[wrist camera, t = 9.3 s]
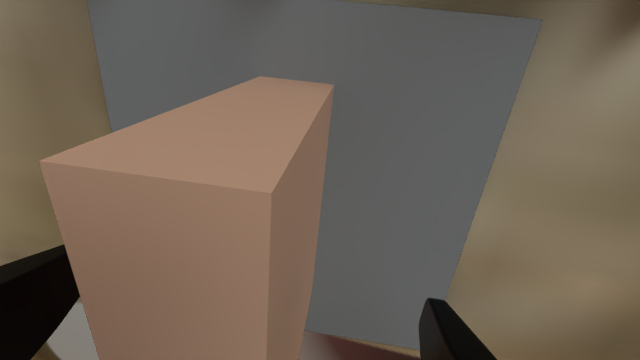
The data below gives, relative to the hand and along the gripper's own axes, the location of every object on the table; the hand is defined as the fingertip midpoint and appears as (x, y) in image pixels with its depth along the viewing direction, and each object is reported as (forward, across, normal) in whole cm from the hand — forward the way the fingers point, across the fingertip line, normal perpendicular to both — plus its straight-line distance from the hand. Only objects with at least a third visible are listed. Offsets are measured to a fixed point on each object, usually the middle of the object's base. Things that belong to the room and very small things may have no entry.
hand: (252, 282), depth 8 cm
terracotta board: (+5, 0, 0) cm, 5 cm away
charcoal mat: (+5, 0, 0) cm, 5 cm away
